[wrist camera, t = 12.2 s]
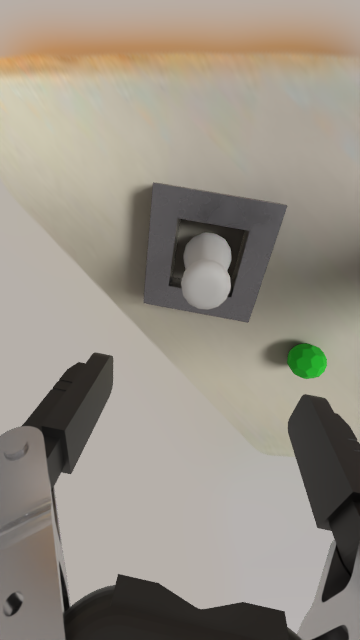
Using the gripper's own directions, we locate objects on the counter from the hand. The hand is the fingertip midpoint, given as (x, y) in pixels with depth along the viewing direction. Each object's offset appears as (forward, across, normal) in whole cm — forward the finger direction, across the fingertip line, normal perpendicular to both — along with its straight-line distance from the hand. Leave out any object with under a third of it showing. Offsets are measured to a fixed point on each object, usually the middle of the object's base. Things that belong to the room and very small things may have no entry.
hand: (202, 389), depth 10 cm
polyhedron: (+24, -17, +12) cm, 32 cm away
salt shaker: (+24, 0, 0) cm, 24 cm away
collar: (+24, 0, 0) cm, 24 cm away
